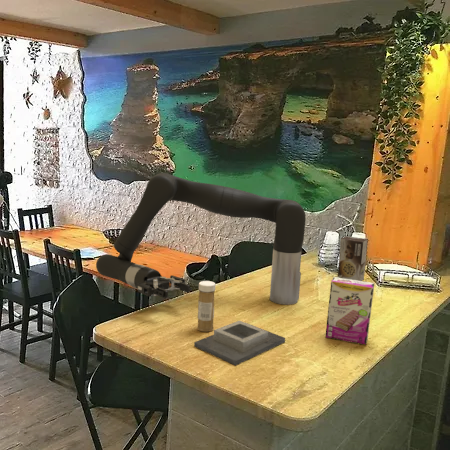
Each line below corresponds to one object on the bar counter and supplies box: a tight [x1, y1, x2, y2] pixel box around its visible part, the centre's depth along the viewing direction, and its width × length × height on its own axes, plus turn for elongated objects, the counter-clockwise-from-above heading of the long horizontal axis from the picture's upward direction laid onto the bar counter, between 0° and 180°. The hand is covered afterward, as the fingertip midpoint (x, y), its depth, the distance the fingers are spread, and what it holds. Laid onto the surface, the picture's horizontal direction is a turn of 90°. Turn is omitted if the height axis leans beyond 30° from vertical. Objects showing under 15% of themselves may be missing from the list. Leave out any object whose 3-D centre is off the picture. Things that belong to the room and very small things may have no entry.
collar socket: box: [193, 320, 286, 366], centre depth 128 cm, size 20×14×4 cm
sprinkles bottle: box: [196, 280, 216, 333], centre depth 135 cm, size 5×5×13 cm
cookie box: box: [337, 235, 369, 281], centre depth 191 cm, size 9×6×16 cm
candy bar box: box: [324, 276, 375, 346], centre depth 134 cm, size 11×5×16 cm, turn 70°
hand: (178, 291), depth 143 cm, fingers open, 8 cm apart
